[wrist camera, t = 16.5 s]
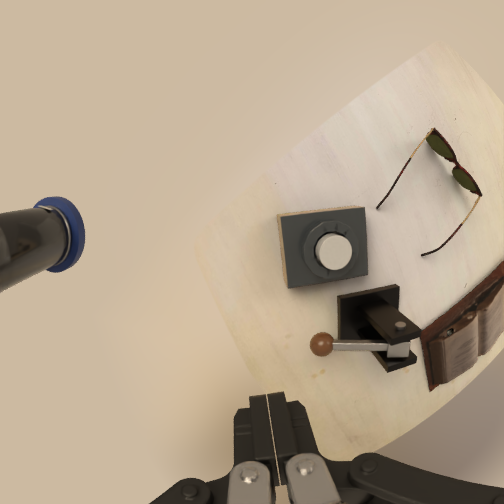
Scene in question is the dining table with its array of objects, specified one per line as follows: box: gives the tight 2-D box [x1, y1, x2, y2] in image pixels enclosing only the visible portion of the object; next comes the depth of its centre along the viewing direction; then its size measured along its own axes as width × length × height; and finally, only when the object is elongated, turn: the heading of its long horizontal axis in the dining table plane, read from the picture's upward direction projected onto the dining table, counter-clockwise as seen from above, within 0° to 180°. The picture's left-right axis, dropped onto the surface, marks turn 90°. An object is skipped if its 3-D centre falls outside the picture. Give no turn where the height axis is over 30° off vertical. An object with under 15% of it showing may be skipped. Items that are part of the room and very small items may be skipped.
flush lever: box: [310, 332, 411, 357], centre depth 32 cm, size 13×3×3 cm, turn 98°
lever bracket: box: [337, 284, 422, 373], centre depth 34 cm, size 10×8×12 cm
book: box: [420, 261, 504, 392], centre depth 41 cm, size 20×28×4 cm
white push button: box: [316, 233, 352, 270], centre depth 32 cm, size 4×4×2 cm
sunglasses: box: [376, 128, 482, 256], centre depth 34 cm, size 14×15×5 cm
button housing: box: [277, 206, 368, 288], centre depth 35 cm, size 11×9×5 cm
